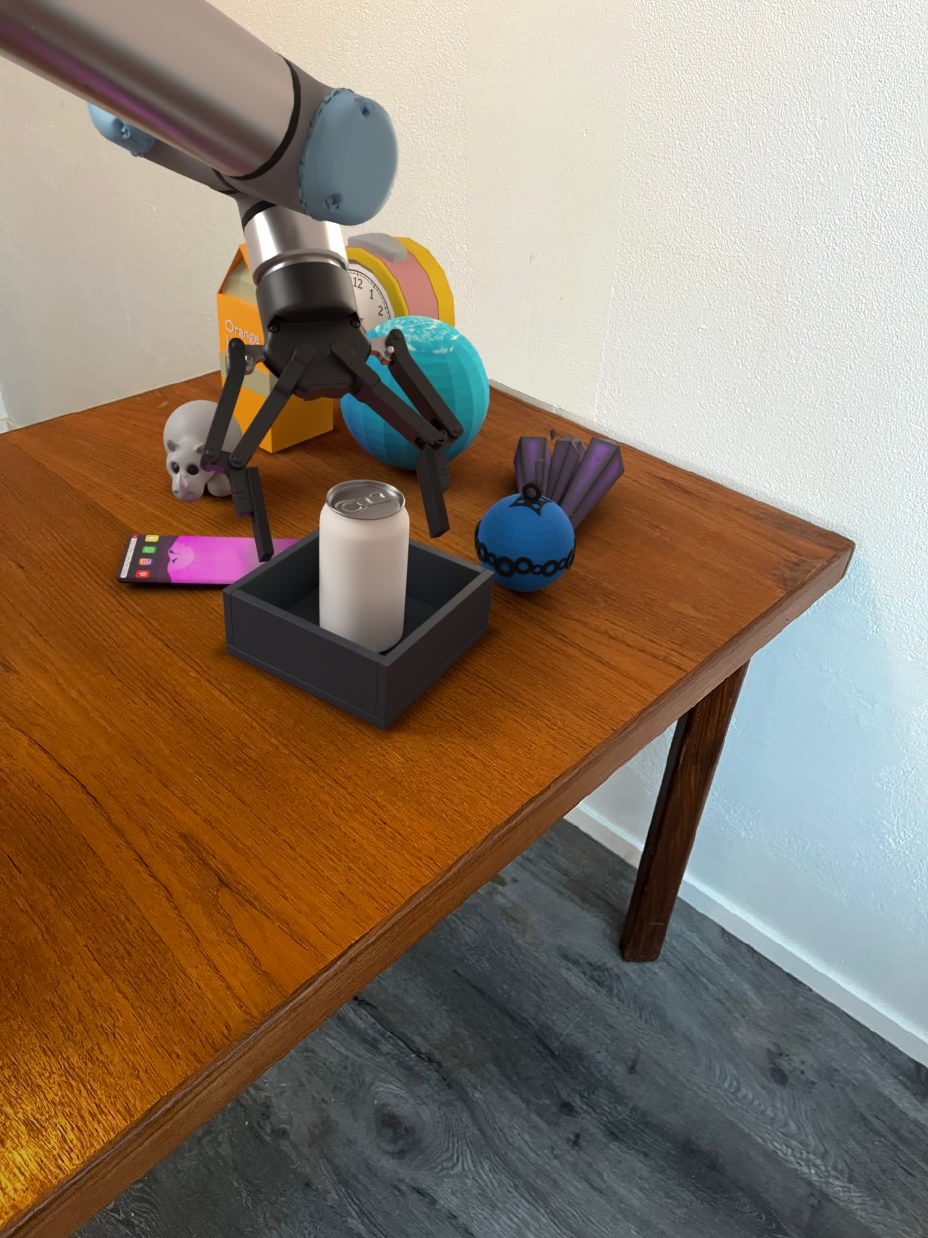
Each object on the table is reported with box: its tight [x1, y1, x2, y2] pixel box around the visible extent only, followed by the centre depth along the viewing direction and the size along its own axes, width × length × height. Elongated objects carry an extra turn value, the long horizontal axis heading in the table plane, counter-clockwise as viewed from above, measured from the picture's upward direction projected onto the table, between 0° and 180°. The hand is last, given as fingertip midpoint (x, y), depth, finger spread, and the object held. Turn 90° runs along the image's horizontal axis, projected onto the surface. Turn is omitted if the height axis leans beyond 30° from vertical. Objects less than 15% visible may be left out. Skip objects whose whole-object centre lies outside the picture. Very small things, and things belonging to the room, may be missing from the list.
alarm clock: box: [345, 232, 456, 334], centre depth 109 cm, size 15×8×18 cm, turn 50°
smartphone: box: [116, 533, 301, 586], centre depth 83 cm, size 7×15×1 cm, turn 97°
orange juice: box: [216, 243, 334, 454], centre depth 99 cm, size 8×9×20 cm
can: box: [319, 479, 410, 654], centre depth 72 cm, size 6×6×12 cm
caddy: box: [222, 526, 495, 731], centre depth 75 cm, size 15×15×6 cm
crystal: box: [512, 429, 625, 532], centre depth 96 cm, size 7×12×20 cm
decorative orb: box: [339, 316, 490, 471], centre depth 97 cm, size 15×15×15 cm
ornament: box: [473, 481, 578, 593], centre depth 82 cm, size 9×9×10 cm
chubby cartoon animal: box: [162, 399, 243, 503], centre depth 90 cm, size 7×12×8 cm, turn 176°
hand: (356, 546), depth 73 cm, fingers open, 13 cm apart
